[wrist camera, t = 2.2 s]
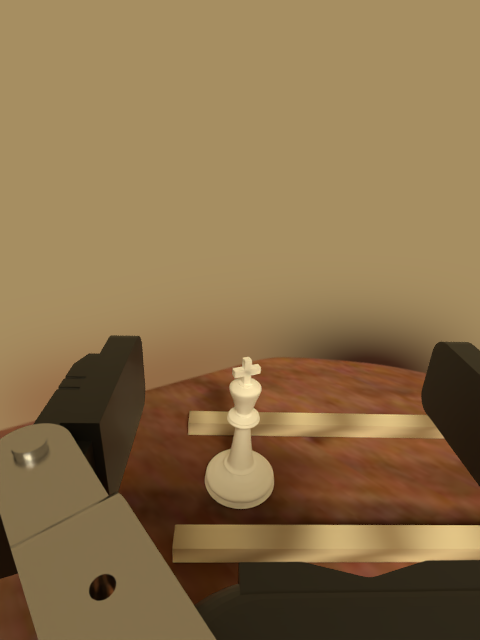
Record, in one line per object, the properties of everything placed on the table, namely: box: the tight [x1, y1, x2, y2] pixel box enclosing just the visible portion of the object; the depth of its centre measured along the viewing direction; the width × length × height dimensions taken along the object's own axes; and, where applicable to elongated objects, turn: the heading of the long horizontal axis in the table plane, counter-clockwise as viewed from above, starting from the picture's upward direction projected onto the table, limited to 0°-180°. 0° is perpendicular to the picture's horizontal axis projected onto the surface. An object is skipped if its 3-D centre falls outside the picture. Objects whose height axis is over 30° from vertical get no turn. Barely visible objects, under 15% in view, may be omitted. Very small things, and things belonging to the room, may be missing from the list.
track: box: [172, 411, 480, 562], centre depth 28 cm, size 25×14×2 cm, turn 92°
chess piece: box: [205, 357, 274, 509], centre depth 26 cm, size 5×5×10 cm
